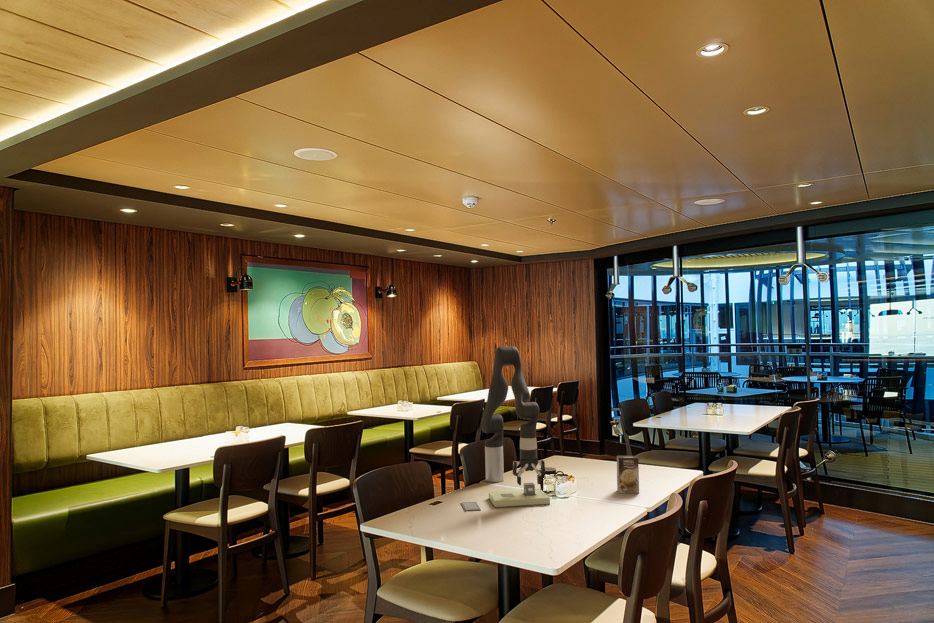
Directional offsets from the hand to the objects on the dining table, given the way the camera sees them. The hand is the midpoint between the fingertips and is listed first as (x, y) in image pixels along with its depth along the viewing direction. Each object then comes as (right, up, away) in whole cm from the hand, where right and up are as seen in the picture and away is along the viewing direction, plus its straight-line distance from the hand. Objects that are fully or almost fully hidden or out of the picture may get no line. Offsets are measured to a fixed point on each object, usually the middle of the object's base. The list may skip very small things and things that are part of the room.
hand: (529, 484), depth 266 cm
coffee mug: (+12, -8, +17) cm, 22 cm away
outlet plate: (-5, -7, -1) cm, 9 cm away
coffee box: (+47, -7, +12) cm, 49 cm away
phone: (-26, -8, -8) cm, 28 cm away
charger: (0, -7, -1) cm, 7 cm away
